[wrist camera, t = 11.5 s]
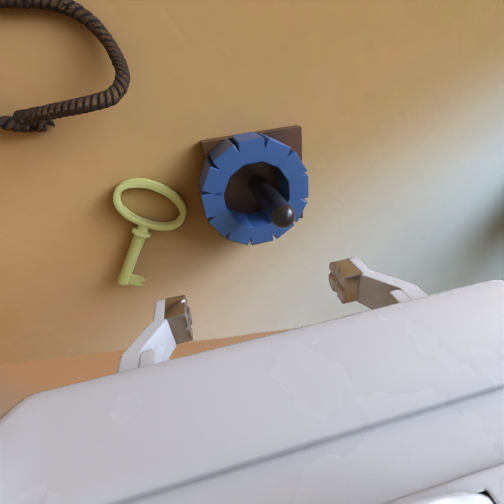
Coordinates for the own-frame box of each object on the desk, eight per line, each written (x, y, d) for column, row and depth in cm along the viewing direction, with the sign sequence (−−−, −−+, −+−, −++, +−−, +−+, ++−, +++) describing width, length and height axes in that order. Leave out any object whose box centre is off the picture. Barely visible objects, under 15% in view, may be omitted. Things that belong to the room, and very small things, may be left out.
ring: (293, 124, 28) (307, 130, 25) (296, 219, 33) (308, 232, 30) (189, 142, 26) (190, 149, 23) (210, 237, 32) (214, 253, 29)
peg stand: (297, 125, 29) (351, 143, 20) (299, 213, 34) (342, 260, 25) (200, 140, 28) (212, 167, 19) (218, 230, 33) (233, 285, 24)
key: (119, 278, 33) (116, 289, 31) (112, 174, 27) (108, 180, 26) (182, 278, 35) (183, 288, 33) (188, 181, 29) (189, 187, 28)
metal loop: (-92, 125, 19) (-162, -86, 14) (-34, 116, 24) (-73, -46, 19) (120, 165, 22) (121, 4, 17) (135, 151, 27) (139, 20, 22)
